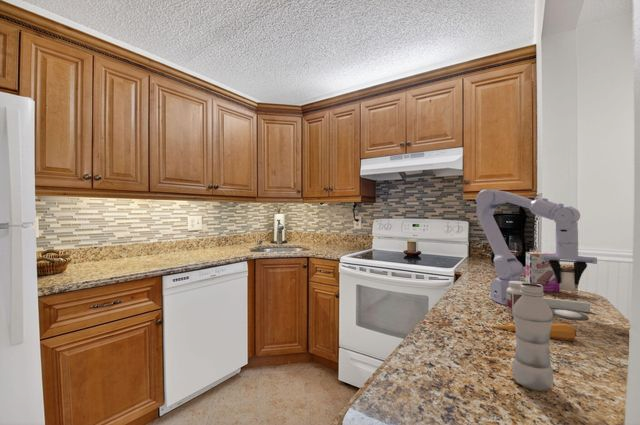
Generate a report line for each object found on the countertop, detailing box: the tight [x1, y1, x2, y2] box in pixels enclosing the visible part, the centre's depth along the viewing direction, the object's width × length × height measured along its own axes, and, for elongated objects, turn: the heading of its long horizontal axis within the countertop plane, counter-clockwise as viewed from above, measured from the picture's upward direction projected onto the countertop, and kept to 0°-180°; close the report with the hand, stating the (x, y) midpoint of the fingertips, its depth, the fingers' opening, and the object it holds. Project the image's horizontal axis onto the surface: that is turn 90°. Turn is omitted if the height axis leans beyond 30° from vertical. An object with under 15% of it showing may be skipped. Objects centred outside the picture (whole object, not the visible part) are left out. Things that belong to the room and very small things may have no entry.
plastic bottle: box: [512, 282, 554, 392], centre depth 58 cm, size 6×7×20 cm
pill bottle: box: [506, 280, 526, 317], centre depth 97 cm, size 6×6×11 cm
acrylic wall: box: [542, 297, 591, 313], centre depth 103 cm, size 1×14×3 cm, turn 60°
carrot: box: [493, 322, 577, 342], centre depth 82 cm, size 20×4×4 cm, turn 61°
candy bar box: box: [525, 251, 561, 293], centre depth 126 cm, size 11×5×16 cm, turn 77°
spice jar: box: [559, 267, 576, 292], centre depth 97 cm, size 4×4×7 cm
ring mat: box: [550, 308, 589, 321], centre depth 97 cm, size 10×10×1 cm
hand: (567, 283), depth 97 cm, fingers closed on spice jar, 4 cm apart
